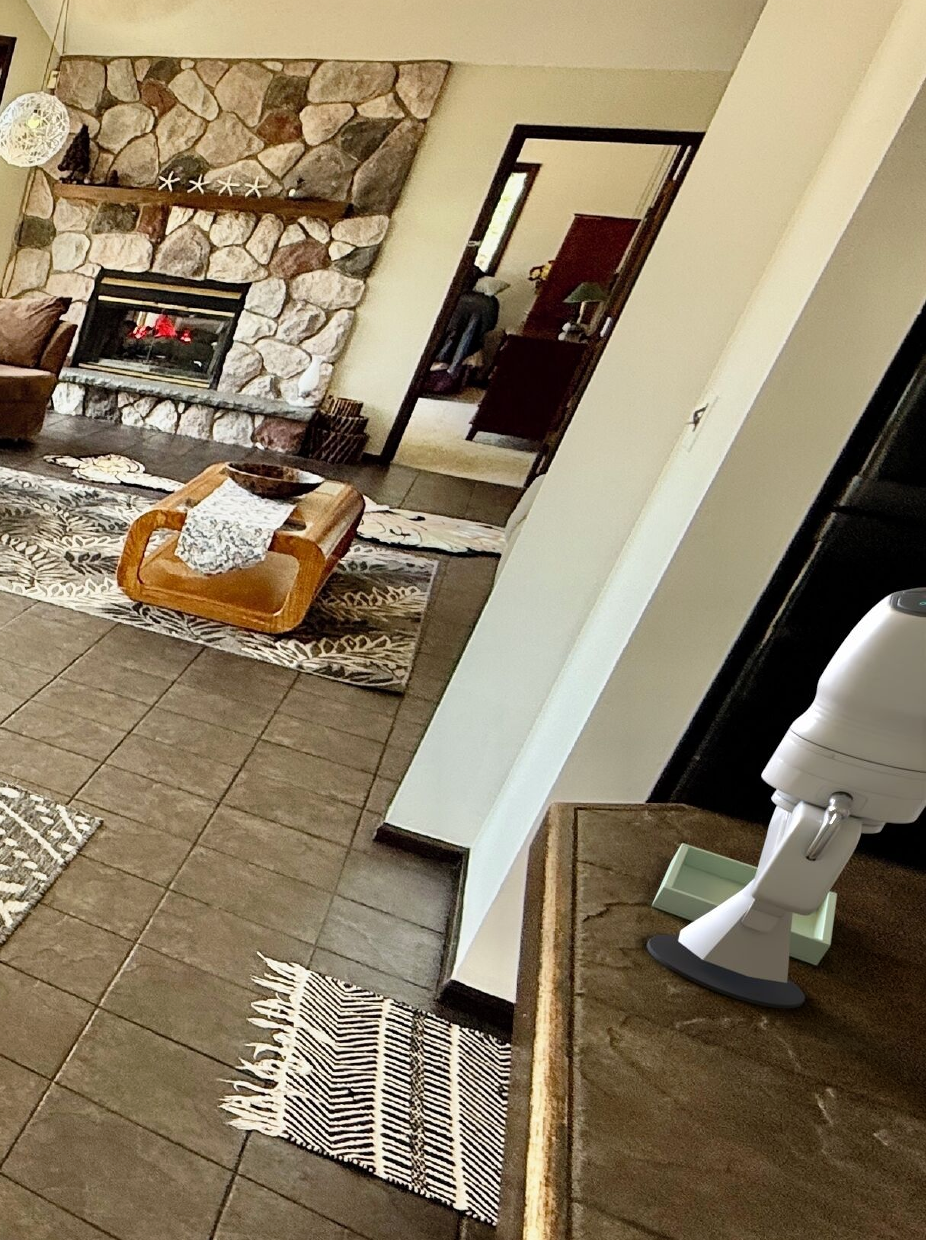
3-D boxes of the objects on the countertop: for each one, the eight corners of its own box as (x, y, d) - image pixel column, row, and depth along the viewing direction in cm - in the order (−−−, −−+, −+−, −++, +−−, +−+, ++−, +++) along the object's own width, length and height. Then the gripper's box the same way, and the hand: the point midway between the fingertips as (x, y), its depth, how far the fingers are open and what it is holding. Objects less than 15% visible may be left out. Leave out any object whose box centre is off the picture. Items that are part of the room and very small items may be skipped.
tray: (671, 861, 121) (682, 842, 120) (824, 912, 113) (837, 893, 112) (651, 906, 112) (663, 886, 111) (816, 965, 104) (830, 945, 103)
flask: (768, 952, 102) (831, 858, 98) (804, 995, 97) (871, 896, 93) (662, 924, 106) (718, 832, 102) (690, 963, 100) (751, 867, 96)
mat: (768, 961, 104) (770, 957, 104) (828, 1023, 96) (831, 1019, 95) (628, 926, 108) (630, 922, 108) (674, 983, 99) (676, 979, 99)
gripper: (903, 831, 85) (802, 979, 91) (905, 765, 98) (815, 899, 103) (783, 795, 90) (693, 939, 95) (799, 737, 102) (719, 867, 108)
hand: (757, 918), depth 99 cm, fingers closed on flask, 3 cm apart
